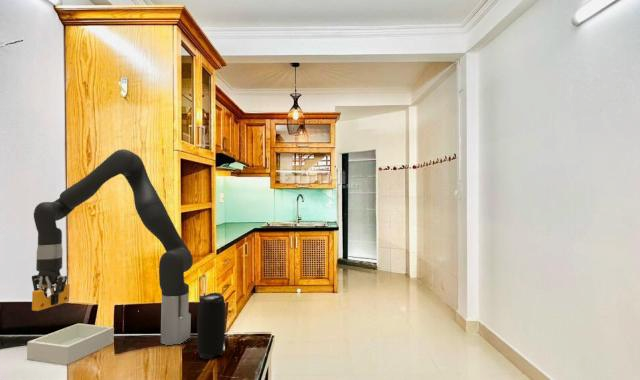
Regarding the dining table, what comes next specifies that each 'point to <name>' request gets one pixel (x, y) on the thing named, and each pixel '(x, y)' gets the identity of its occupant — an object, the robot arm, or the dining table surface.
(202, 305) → the portable speaker
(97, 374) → the dining table surface
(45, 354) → the walled box
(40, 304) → the pipe clamp
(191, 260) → the robot arm
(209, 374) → the dining table surface
